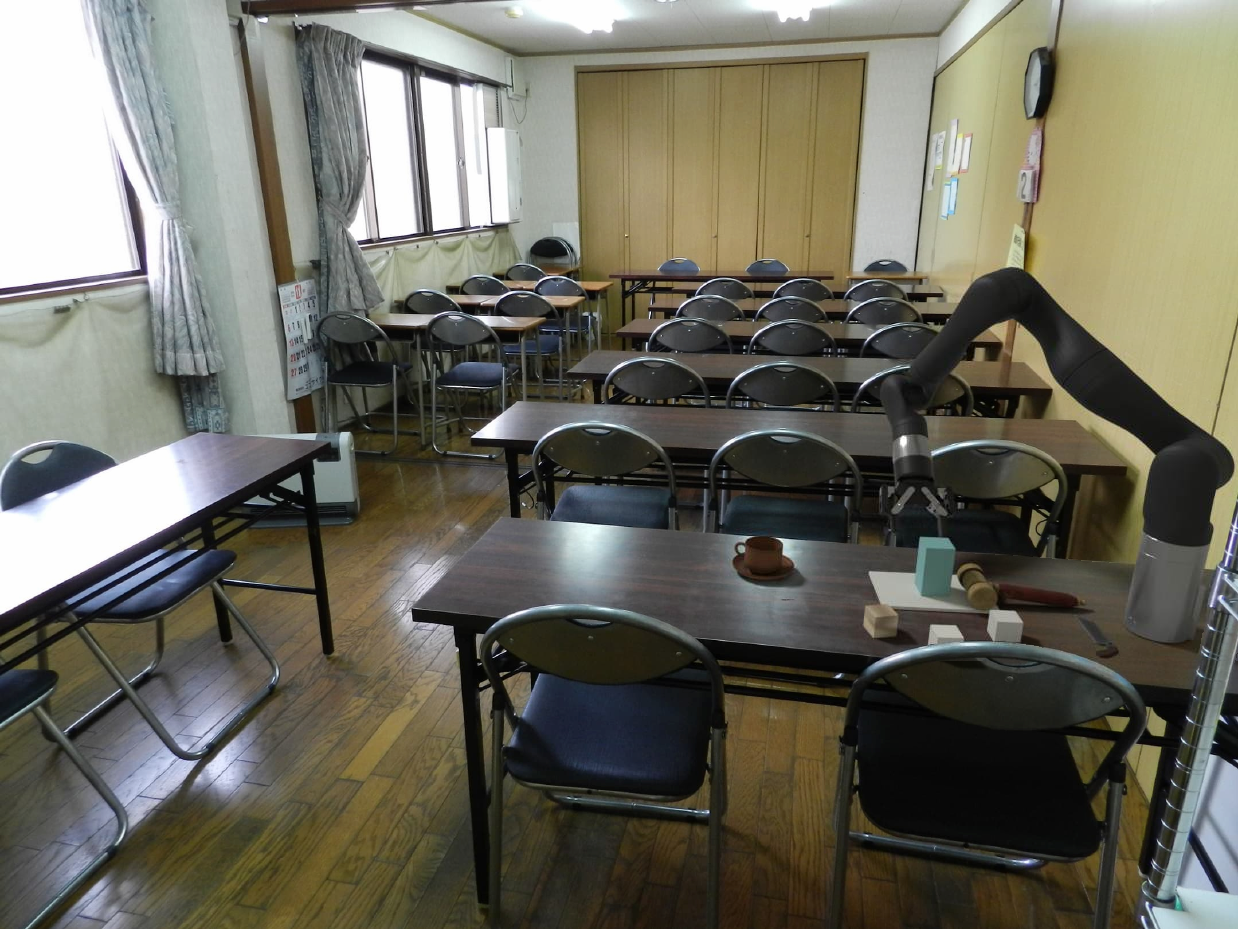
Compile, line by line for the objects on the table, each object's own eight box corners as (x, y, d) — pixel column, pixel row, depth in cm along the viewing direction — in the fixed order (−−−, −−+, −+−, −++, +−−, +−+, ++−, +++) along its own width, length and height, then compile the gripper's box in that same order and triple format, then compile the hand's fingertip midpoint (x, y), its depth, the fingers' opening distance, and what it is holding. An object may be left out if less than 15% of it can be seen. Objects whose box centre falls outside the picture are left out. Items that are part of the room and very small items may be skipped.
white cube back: (953, 647, 131) (955, 625, 129) (960, 660, 127) (963, 638, 126) (927, 646, 131) (930, 624, 130) (934, 659, 127) (937, 637, 126)
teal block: (942, 584, 150) (947, 537, 147) (949, 597, 145) (955, 549, 142) (914, 583, 151) (919, 537, 148) (920, 595, 146) (926, 548, 143)
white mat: (975, 578, 154) (976, 575, 153) (999, 614, 140) (1000, 611, 140) (868, 574, 156) (869, 571, 156) (882, 608, 143) (883, 605, 143)
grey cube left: (1011, 632, 135) (1015, 611, 134) (1019, 644, 131) (1023, 623, 130) (986, 630, 135) (990, 609, 134) (994, 643, 132) (997, 621, 130)
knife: (1124, 660, 127) (1125, 656, 126) (1097, 658, 127) (1098, 655, 127) (1089, 617, 140) (1090, 613, 139) (1065, 616, 140) (1065, 612, 140)
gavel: (1079, 579, 146) (1101, 605, 136) (1072, 601, 147) (1093, 628, 138) (959, 561, 148) (973, 585, 139) (954, 583, 150) (967, 608, 140)
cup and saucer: (728, 582, 154) (729, 553, 152) (735, 556, 165) (736, 529, 163) (792, 588, 151) (794, 558, 149) (794, 562, 162) (796, 534, 160)
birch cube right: (885, 624, 138) (887, 603, 136) (896, 636, 134) (898, 615, 133) (863, 626, 137) (865, 605, 136) (873, 638, 133) (875, 617, 132)
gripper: (880, 452, 161) (886, 526, 154) (954, 454, 160) (963, 529, 153) (873, 468, 168) (878, 540, 161) (943, 470, 166) (952, 543, 159)
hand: (919, 535), depth 157 cm, fingers open, 8 cm apart
